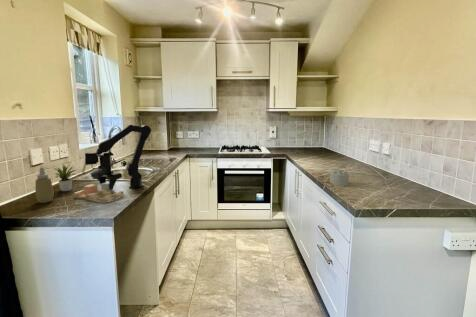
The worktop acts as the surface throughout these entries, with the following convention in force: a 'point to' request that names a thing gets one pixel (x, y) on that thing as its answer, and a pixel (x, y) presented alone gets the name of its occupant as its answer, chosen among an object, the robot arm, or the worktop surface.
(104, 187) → the blue-grey block
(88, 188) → the terracotta block
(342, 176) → the lumpy-topped squat cylinder
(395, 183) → the worktop surface
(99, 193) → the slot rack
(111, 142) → the robot arm
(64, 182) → the house plant
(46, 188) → the squeeze bottle
